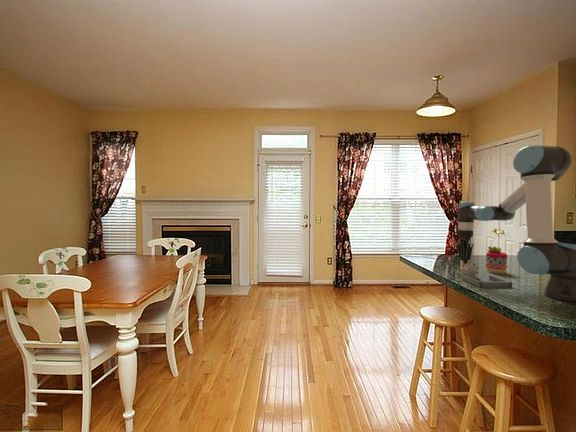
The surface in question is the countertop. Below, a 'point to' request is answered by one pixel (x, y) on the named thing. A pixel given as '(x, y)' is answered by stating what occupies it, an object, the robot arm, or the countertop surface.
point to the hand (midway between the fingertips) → (463, 271)
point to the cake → (496, 260)
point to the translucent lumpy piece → (469, 269)
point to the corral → (496, 282)
